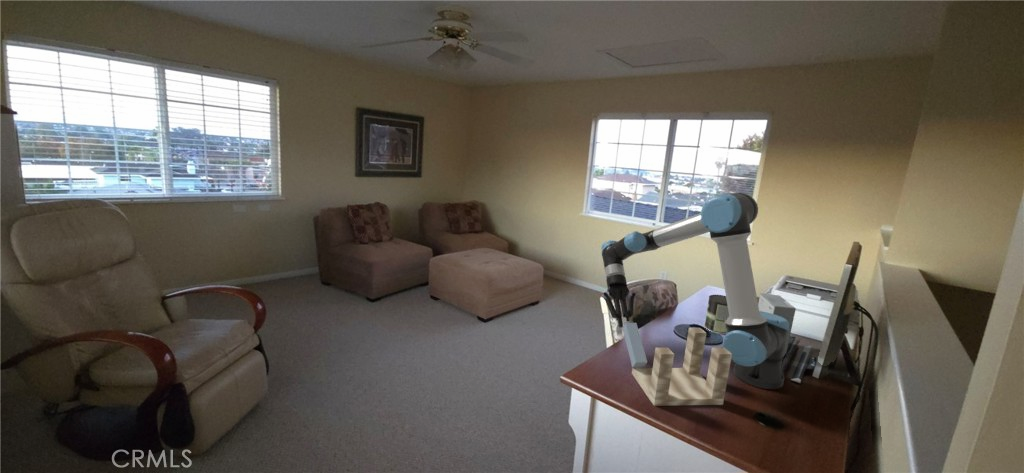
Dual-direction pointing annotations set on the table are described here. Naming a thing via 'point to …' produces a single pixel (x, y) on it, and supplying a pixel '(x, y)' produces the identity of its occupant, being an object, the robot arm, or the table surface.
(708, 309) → the coffee can
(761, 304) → the hard drive box
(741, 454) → the table surface
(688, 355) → the upturned stool
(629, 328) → the pale blue upright post
